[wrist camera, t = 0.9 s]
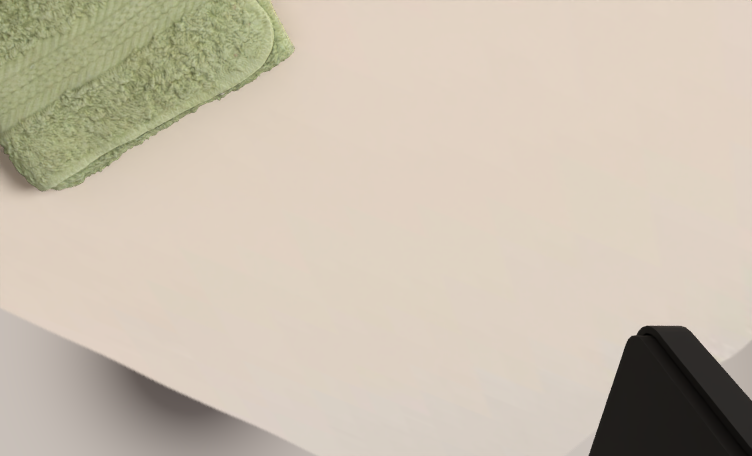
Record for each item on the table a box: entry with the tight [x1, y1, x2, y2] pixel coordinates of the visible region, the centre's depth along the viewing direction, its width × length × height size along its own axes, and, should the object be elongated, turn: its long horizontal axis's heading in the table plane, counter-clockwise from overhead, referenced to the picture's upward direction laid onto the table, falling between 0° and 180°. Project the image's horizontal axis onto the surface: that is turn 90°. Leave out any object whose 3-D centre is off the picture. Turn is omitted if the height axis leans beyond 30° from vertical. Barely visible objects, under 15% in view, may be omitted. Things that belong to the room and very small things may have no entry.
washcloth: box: [0, 0, 295, 191], centre depth 35 cm, size 13×18×3 cm
